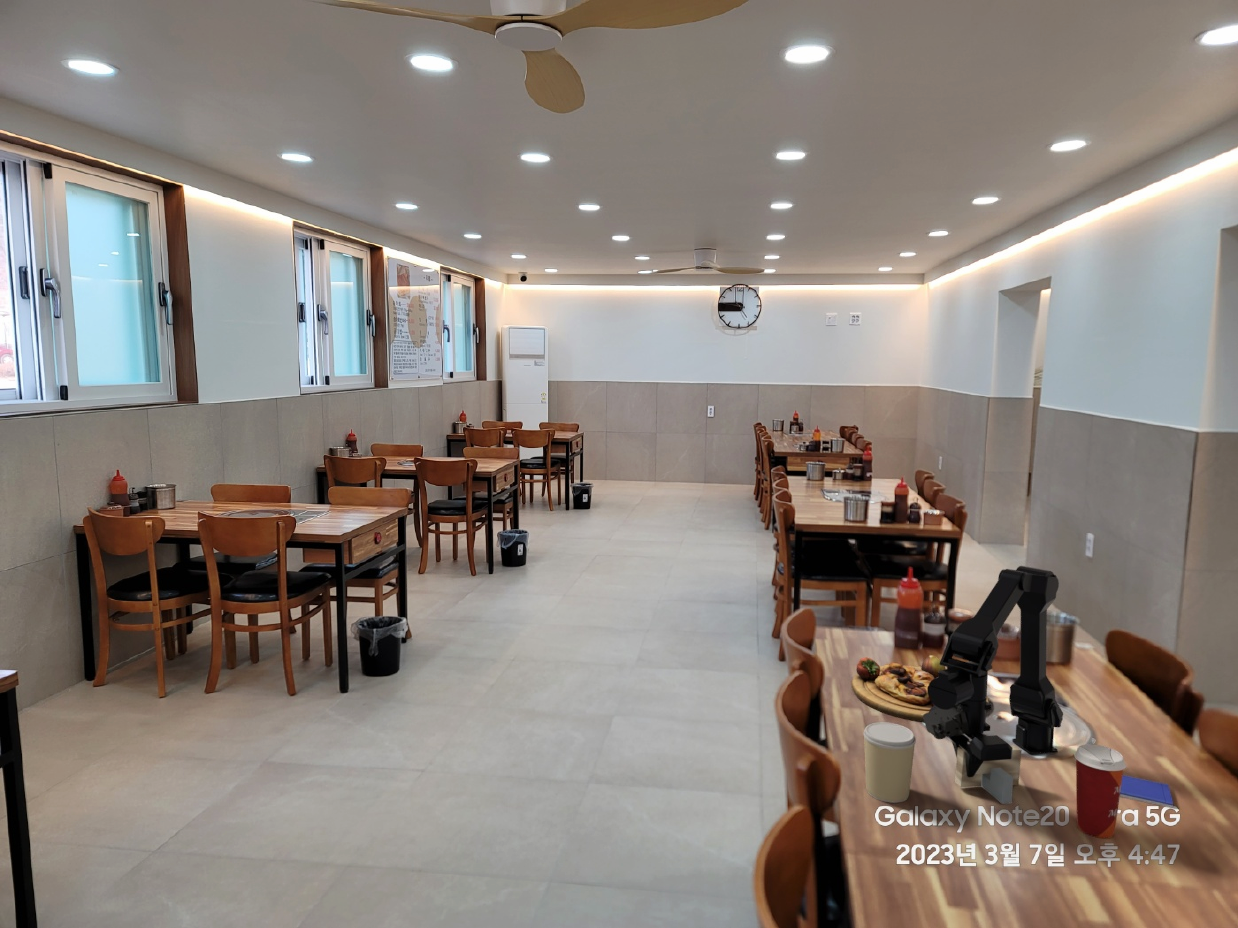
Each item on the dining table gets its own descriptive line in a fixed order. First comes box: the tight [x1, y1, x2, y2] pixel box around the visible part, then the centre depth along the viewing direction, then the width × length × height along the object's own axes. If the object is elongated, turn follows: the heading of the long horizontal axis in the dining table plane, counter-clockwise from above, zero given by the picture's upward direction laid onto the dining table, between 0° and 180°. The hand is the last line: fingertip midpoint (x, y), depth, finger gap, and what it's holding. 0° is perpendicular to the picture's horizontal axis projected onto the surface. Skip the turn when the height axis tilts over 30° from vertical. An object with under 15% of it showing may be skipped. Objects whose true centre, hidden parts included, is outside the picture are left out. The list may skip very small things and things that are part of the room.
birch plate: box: [954, 744, 1023, 788], centre depth 152 cm, size 12×2×7 cm, turn 98°
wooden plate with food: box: [851, 654, 990, 723], centre depth 197 cm, size 32×32×8 cm
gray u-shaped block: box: [980, 767, 1014, 805], centre depth 152 cm, size 2×12×5 cm, turn 8°
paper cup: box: [1073, 743, 1127, 839], centre depth 138 cm, size 8×8×14 cm
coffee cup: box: [863, 721, 917, 804], centre depth 150 cm, size 9×9×12 cm
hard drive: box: [1120, 775, 1174, 809], centre depth 152 cm, size 2×8×12 cm
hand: (966, 773), depth 152 cm, fingers closed on birch plate, 2 cm apart
